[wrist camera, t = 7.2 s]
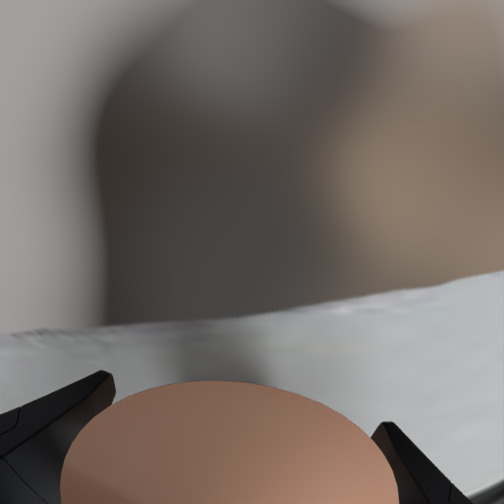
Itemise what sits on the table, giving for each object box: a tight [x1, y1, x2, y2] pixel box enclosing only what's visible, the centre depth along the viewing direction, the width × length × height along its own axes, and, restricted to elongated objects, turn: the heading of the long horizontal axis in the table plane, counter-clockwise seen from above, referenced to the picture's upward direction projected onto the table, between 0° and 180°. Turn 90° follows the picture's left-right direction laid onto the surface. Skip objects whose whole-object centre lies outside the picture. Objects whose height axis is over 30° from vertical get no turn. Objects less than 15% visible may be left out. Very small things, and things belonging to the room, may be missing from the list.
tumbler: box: [60, 381, 399, 504], centre depth 8 cm, size 5×5×13 cm
